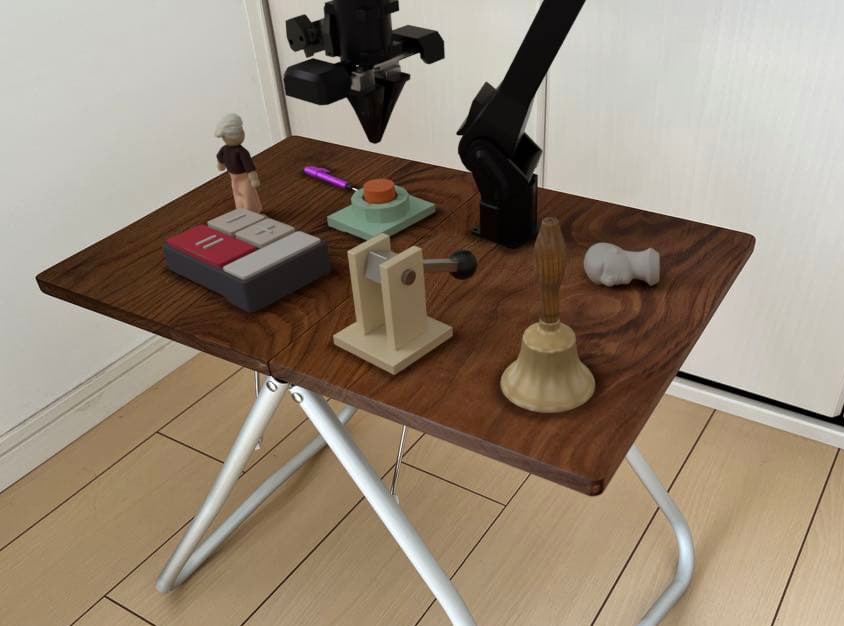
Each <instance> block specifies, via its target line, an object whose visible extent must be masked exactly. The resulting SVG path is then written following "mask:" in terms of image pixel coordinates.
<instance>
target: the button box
mask: <svg viewBox="0 0 844 626" xmlns="http://www.w3.org/2000/svg"><path fill="white" fill-rule="evenodd" d="M394 185H395V196H396V198H395V200H393V201H391V202H389V203H384V204H370V203H367V202H365V198H364V189H363V187H362V188H359V189H357V190H358V191H354V193H353V194H352V196H351V198H350V201H351V204H350V205H347V206H346V207H344V208H342V209H339V210H338V211H336V212H334V213H332V214H330V215H327V216H326V220H327V226H328V227H330V228H333V229H336V230H338V231H341V232H343V233H349V234H351V235H353V236H355V237H359V238H361V239H362V240H365V241H368V240H370V239H372V238H373V237H375V236H377V235H379V234H381V233H384V234H386V235H389V236H390V237H391V236H393V235H395V234H397V233H399V232H401V231H403V230H405V229H406V228H408V227H410V226H412V225H414V224H416V223H417V222H419V221H422V220H423V219H425V218H427V217H429V216H431V215H432V214H434V213H436V203H433V202H430V201H426V200H424V199H421V198H419V197H416V196H413V195H410V194H409V192H408V191H407V190H406V188H405V187H401V186H400V185H396V184H394Z"/></svg>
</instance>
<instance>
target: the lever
mask: <svg viewBox="0 0 844 626" xmlns="http://www.w3.org/2000/svg"><path fill="white" fill-rule="evenodd" d="M398 254H399V253H397V252H394V251H392V250H391V251H370V252H369V257H368V262H367V268H366V273H365V278H367V279H370V280H372V281H374V282H376V283H379V284H381V276H380V266H379V265H380V264H382V263H384V262H386V261H387V260H389V259H391V258H393V257H394V256H396V255H398ZM423 270H424V274H433V273H434V274H435V273H449V275H450V276H451V277H452V278H454V279H456V280H458V281H467V280H469V279H471V278H472V277H473V276H475V274H476V272H477V270H478V260H477V258H476V256H475V255H474V253H473V252H471V251H469V250H467V249H457V250H455V251H453V252H452V253H451V254H450V255H449V256H448V258H430V259H429V258H427V259H423Z"/></svg>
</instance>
